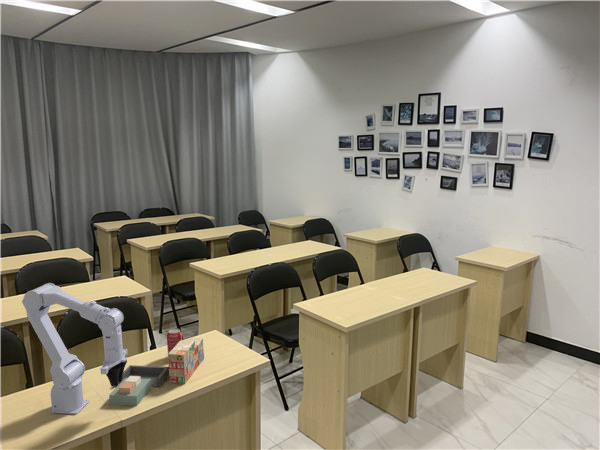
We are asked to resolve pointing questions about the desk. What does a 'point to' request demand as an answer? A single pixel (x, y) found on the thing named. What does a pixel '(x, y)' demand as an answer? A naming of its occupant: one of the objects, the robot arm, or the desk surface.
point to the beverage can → (173, 338)
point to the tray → (148, 373)
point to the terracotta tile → (127, 387)
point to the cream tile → (134, 379)
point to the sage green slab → (134, 396)
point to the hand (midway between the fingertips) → (116, 383)
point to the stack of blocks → (185, 359)
